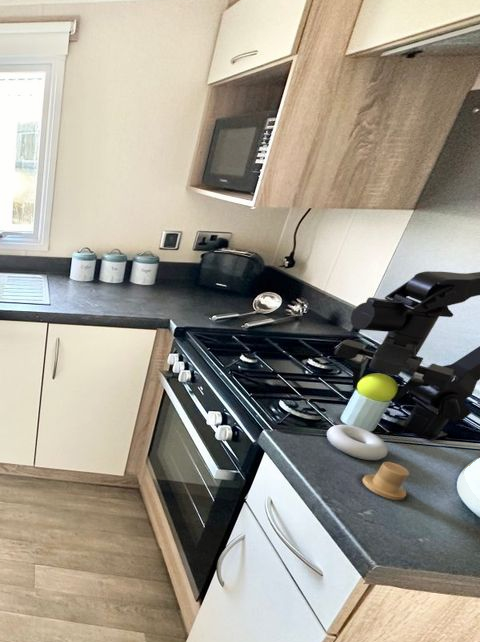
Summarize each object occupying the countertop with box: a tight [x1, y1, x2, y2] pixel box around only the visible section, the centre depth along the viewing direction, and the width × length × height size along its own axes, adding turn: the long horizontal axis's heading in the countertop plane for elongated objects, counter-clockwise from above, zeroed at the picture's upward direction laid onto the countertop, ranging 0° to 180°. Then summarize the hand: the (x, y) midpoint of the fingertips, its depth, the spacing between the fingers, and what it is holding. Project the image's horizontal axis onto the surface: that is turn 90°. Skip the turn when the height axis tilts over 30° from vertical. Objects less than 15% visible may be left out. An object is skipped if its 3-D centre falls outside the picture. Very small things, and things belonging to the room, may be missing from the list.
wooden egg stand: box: [362, 461, 410, 501], centre depth 77 cm, size 6×6×5 cm
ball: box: [356, 372, 399, 402], centre depth 93 cm, size 7×7×7 cm
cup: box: [340, 388, 392, 432], centre depth 96 cm, size 6×6×8 cm
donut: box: [326, 424, 389, 461], centre depth 88 cm, size 10×4×10 cm
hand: (373, 394), depth 94 cm, fingers closed on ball, 6 cm apart
